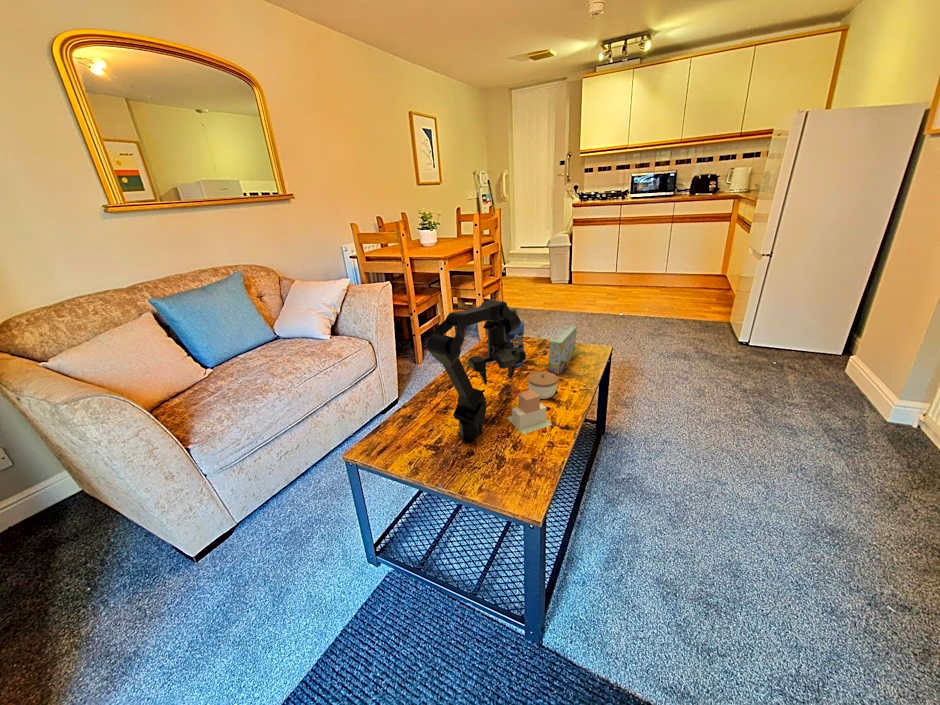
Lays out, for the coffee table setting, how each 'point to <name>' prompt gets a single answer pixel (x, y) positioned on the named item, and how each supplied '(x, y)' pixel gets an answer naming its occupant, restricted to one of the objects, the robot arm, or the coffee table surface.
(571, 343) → the snack box
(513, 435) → the coffee table surface
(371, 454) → the coffee table surface
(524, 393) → the top brick
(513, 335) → the water bottle
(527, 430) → the baseplate
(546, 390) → the lidded jar
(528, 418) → the bottom brick
